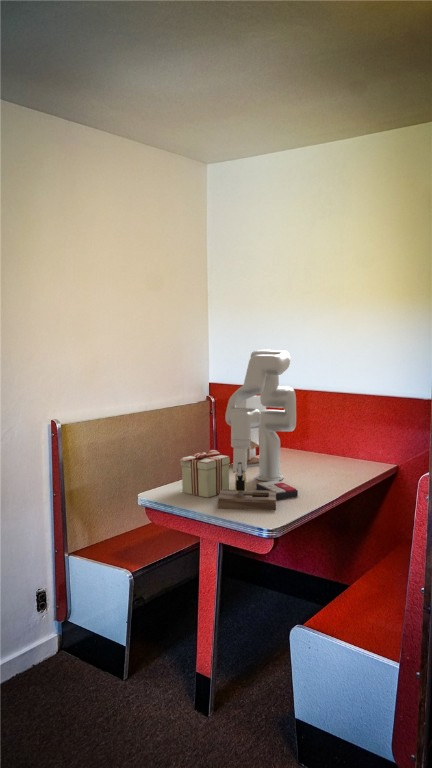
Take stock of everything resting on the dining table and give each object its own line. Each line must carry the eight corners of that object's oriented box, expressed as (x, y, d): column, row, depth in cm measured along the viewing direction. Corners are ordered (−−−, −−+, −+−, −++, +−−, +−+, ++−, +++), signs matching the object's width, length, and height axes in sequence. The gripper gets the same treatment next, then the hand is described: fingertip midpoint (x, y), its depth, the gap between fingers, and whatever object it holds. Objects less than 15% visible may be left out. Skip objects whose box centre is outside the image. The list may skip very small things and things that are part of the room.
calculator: (276, 492, 247) (256, 482, 260) (275, 502, 248) (255, 491, 261) (298, 488, 252) (277, 478, 265) (298, 498, 253) (277, 488, 266)
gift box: (196, 484, 272) (196, 445, 271) (231, 490, 262) (231, 450, 260) (172, 492, 258) (172, 452, 257) (208, 500, 248) (208, 457, 246)
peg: (234, 501, 244) (234, 473, 243) (247, 501, 244) (247, 473, 243) (233, 505, 240) (233, 476, 238) (246, 505, 239) (246, 476, 238)
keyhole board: (221, 499, 249) (221, 489, 249) (275, 500, 247) (275, 490, 246) (218, 508, 236) (218, 498, 236) (275, 510, 234) (275, 500, 234)
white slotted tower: (246, 467, 304) (246, 396, 300) (235, 463, 313) (235, 394, 310) (265, 464, 309) (266, 395, 305) (254, 460, 318) (255, 393, 315)
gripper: (232, 438, 248) (232, 483, 250) (229, 446, 231) (229, 494, 233) (251, 438, 247) (251, 483, 249) (249, 447, 231) (249, 495, 233)
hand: (240, 488), depth 241 cm, fingers closed on peg, 4 cm apart
